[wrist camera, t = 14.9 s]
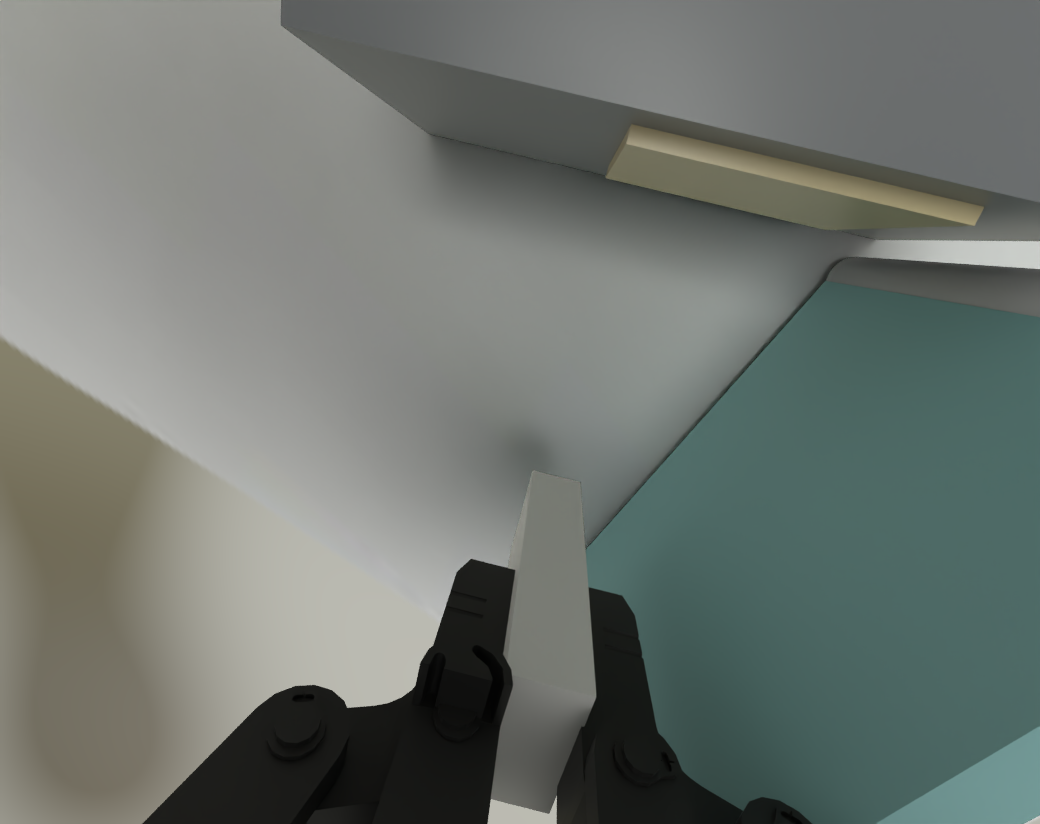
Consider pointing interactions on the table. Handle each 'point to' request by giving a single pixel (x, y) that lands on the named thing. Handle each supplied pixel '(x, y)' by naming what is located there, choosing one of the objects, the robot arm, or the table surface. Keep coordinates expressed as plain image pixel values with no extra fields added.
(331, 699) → the robot arm
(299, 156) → the table surface
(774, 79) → the camera body
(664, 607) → the side door
